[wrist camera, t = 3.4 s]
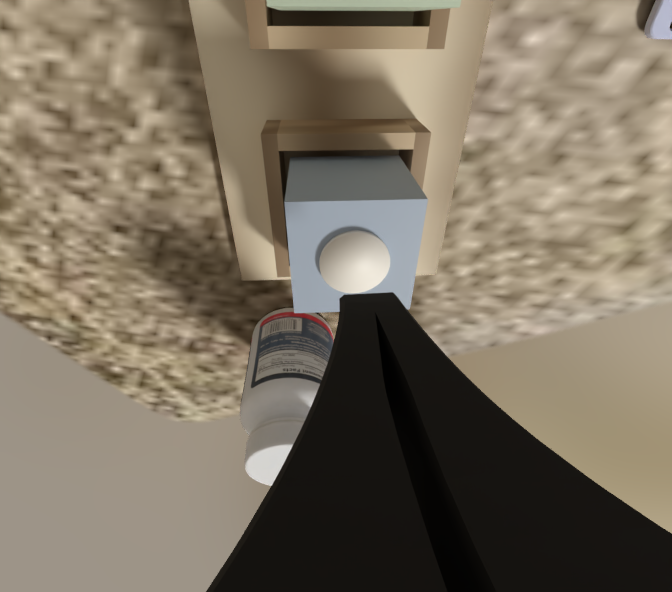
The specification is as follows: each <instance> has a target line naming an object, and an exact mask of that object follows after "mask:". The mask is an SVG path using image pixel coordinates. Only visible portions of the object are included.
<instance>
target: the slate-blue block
mask: <svg viewBox="0 0 672 592" xmlns="http://www.w3.org/2000/svg"><path fill="white" fill-rule="evenodd" d="M284 203H285V215H286V226H287V237H288V248H289V260H290V271H291V282H292V293H293V305H294V313H317V312H340V304H339V299H340V298H341V297H342V296H343V295H347V294H367V293H388V292H393V293H394V294H395V295H396V296H397V297H398V298H399V300H400V301H401V302H402V304H403V305H404V306H405V308H406V309H410V305H411V299H412V293H413V287H414V281H415V275H416V269H417V263H418V257H419V251H420V245H421V239H422V233H423V227H424V221H425V215H426V209H427V203H428V198H427V197H426V195H425V194H424V192H423V191H422V189H421V188H420V186H419V185H418V183H417V182H416V180H415V179H414V177H413V176H412V174H411V173H410V171H409V170H408V168H407V167H406V165H405V164H404V162H403V161H402V159H401V157H400V156H399V155H391V156H323V157H290V164H289V172H288V179H287V187H286V194H285V201H284Z"/></svg>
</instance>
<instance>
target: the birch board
mask: <svg viewBox="0 0 672 592" xmlns="http://www.w3.org/2000/svg"><path fill="white" fill-rule="evenodd" d="M188 1H189V6H190V11H191V16H192V22H193V27H194V32H195V37H196V43H197V48H198V53H199V58H200V63H201V69H202V74H203V79H204V84H205V90H206V95H207V100H208V105H209V111H210V116H211V121H212V126H213V131H214V137H215V142H216V147H217V152H218V158H219V163H220V168H221V173H222V179H223V184H224V189H225V194H226V199H227V205H228V210H229V215H230V220H231V226H232V231H233V236H234V241H235V247H236V252H237V257H238V262H239V267H240V273H241V278H242V281H249V280H281V279H291V271H290V260H289V248H288V237H287V226H286V215H285V203H284V201H285V194H286V187H287V179H288V172H289V164H290V157H323V156H391V155H399V156H400V157H401V159H402V161H403V162H404V164H405V165H406V167H407V168H408V170H409V171H410V173H411V174H412V176H413V177H414V179H415V180H416V182H417V183H418V185H419V186H420V188H421V189H422V191H423V192H424V194H425V195H426V197H427V198H428V203H427V209H426V215H425V221H424V227H423V233H422V239H421V245H420V251H419V257H418V263H417V269H416V275H436V272H437V267H438V263H439V258H440V253H441V248H442V243H443V239H444V234H445V229H446V224H447V219H448V215H449V210H450V205H451V200H452V195H453V191H454V186H455V181H456V176H457V172H458V167H459V162H460V157H461V152H462V148H463V143H464V138H465V133H466V128H467V124H468V119H469V114H470V109H471V104H472V100H473V95H474V90H475V85H476V80H477V76H478V71H479V66H480V61H481V57H482V52H483V47H484V42H485V37H486V33H487V28H488V23H489V18H490V13H491V9H492V4H493V0H461V5H460V7H459V8H447V9H434V10H422V11H298V10H277V9H274V8H271V7H268V6H267V1H266V0H188Z"/></svg>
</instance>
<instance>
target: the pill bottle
mask: <svg viewBox="0 0 672 592" xmlns="http://www.w3.org/2000/svg"><path fill="white" fill-rule="evenodd" d="M333 343H334V341H333V334H332V330H331V328H330V326H329V325H328V323H327V322H326V321H325V320H324V319H323V318H322V317H321V316H319V315H318V314H316V313H294V308H283V309H279V310H276V311H273V312H271V313H269V314H267V315H266V316H264V317H263V318H262V319H261V320H260V321H259V322H258V324H257V325H256V327H255V329H254V331H253V335H252V340H251V347H250V352H249V360H248V366H247V372H246V378H245V383H244V389H243V394H242V399H241V406H240V420H241V424H242V426H243V428H244V430H245V431H246V432H247V434H248V435H249V438H248V441H247V447H246V455H245V470H246V472H247V474H248V475H249V476H250V477H251V478H253V479H254V480H256V481H258V482H260V483H263V484H266V485H270V486H272V484H273V482H274V481H275V479H276V477H277V475H278V473H279V471H280V470H281V468H282V466H283V464H284V462H285V460H286V458H287V456H288V454H289V452H290V450H291V448H292V446H293V444H294V442H295V440H296V438H297V436H298V434H299V432H300V430H301V428H302V426H303V424H304V421H305V419H306V417H307V415H308V413H309V410H310V408H311V406H312V403H313V401H314V398H315V396H316V393H317V391H318V388H319V386H320V383H321V380H322V377H323V374H324V372H325V369H326V366H327V363H328V360H329V357H330V354H331V350H332V346H333Z"/></svg>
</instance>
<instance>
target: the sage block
mask: <svg viewBox="0 0 672 592" xmlns="http://www.w3.org/2000/svg"><path fill="white" fill-rule="evenodd" d="M266 1H267V6H268V7H271V8H274V9H277V10H298V11H422V10H434V9H447V8H459V7H460V5H461V0H266Z"/></svg>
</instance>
